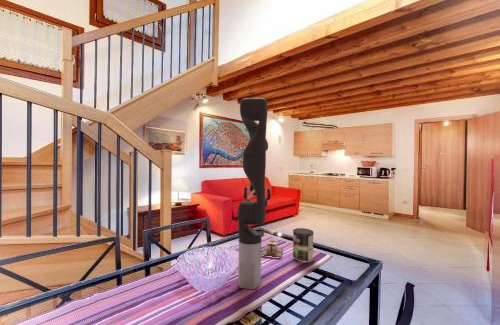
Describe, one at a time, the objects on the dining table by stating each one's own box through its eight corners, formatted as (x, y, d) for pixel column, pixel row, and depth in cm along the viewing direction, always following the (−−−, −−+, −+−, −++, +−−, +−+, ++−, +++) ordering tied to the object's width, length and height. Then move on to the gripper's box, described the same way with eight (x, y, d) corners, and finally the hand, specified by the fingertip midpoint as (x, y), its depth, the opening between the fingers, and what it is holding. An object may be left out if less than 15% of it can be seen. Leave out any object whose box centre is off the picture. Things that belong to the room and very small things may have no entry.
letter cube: (276, 253, 123) (276, 243, 123) (266, 252, 124) (266, 242, 124) (277, 249, 128) (277, 240, 128) (268, 249, 129) (268, 239, 129)
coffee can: (298, 263, 114) (299, 234, 114) (289, 255, 124) (289, 228, 124) (317, 261, 117) (317, 233, 117) (306, 253, 127) (306, 227, 127)
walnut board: (280, 258, 119) (280, 256, 119) (261, 256, 121) (261, 254, 121) (282, 250, 131) (282, 248, 131) (265, 248, 133) (265, 246, 133)
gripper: (242, 176, 122) (242, 207, 122) (269, 177, 119) (269, 209, 118) (246, 175, 130) (245, 205, 129) (271, 176, 126) (271, 206, 126)
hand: (257, 207), depth 124 cm, fingers open, 8 cm apart
